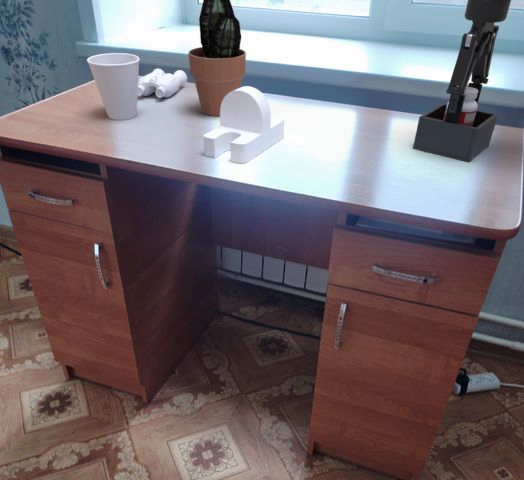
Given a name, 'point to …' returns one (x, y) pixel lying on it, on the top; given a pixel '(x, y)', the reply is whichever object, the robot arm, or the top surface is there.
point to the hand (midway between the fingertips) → (458, 122)
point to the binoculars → (161, 83)
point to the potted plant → (217, 55)
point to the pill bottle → (467, 107)
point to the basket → (454, 134)
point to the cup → (117, 83)
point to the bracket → (244, 126)
